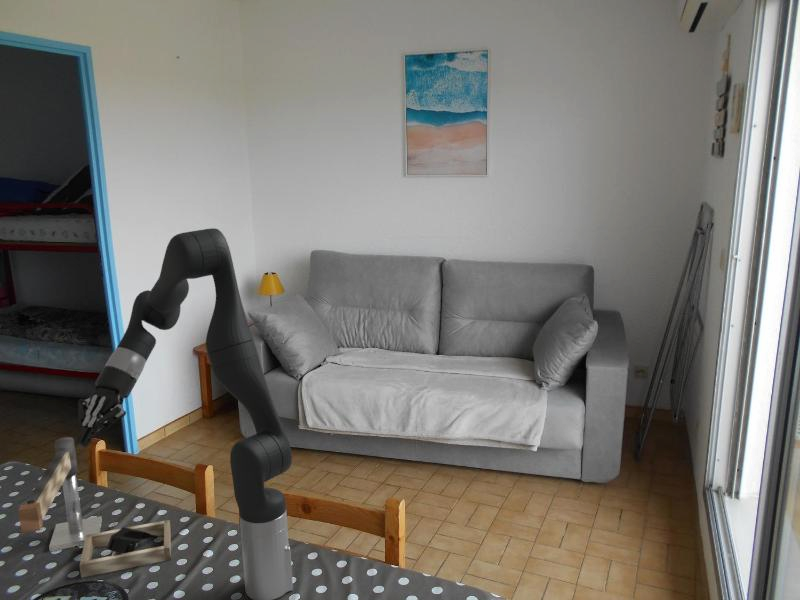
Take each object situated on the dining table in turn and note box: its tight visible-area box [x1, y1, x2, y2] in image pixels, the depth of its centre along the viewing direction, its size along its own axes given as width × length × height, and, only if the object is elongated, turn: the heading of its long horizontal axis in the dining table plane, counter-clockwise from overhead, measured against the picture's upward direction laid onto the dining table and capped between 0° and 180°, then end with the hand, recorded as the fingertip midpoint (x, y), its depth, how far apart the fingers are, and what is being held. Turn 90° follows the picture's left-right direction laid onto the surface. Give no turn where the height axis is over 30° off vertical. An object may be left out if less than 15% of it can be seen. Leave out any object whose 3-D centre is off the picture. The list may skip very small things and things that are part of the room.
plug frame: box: [79, 519, 172, 578], centre depth 146 cm, size 18×12×3 cm, turn 109°
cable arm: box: [17, 436, 79, 534], centre depth 138 cm, size 30×4×8 cm, turn 13°
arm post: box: [48, 473, 103, 552], centre depth 152 cm, size 10×10×16 cm
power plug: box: [106, 526, 158, 556], centre depth 146 cm, size 6×8×12 cm
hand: (80, 445), depth 137 cm, fingers closed
